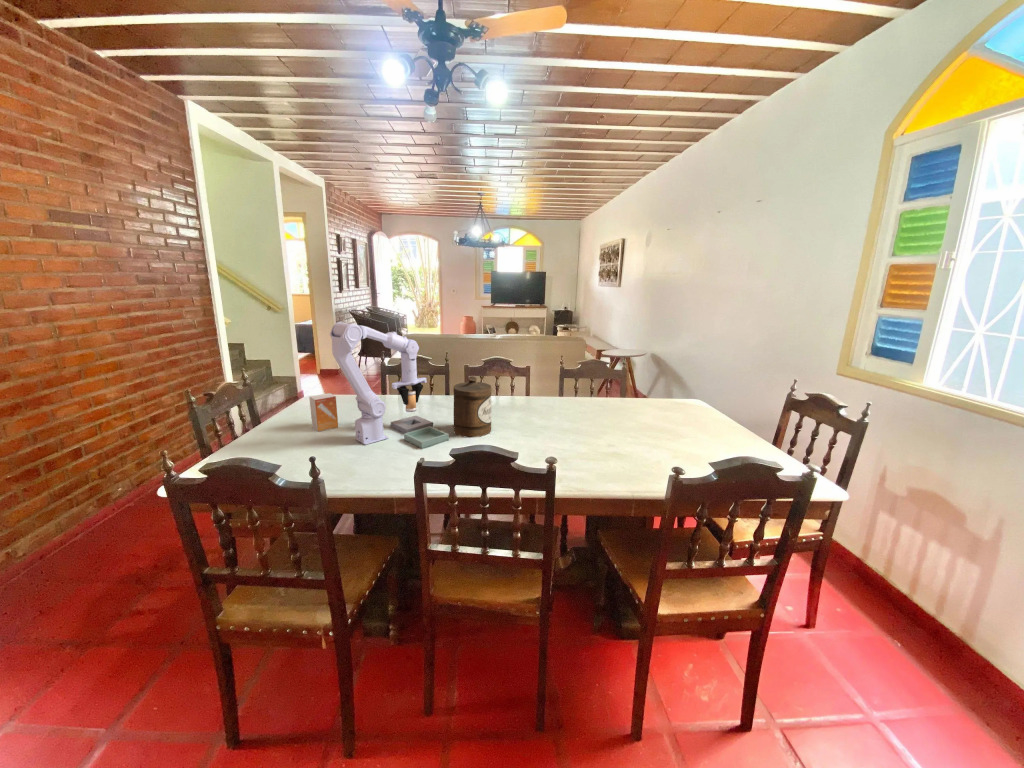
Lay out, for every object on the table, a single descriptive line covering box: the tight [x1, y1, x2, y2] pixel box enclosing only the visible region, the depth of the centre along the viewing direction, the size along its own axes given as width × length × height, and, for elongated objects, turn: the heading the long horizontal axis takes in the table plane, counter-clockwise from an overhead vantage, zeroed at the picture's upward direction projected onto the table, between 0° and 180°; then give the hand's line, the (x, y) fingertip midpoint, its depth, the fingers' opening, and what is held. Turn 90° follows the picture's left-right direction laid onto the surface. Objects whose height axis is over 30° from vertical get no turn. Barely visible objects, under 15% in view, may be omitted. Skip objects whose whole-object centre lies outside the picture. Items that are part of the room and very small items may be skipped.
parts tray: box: [403, 426, 450, 450], centre depth 152 cm, size 12×12×2 cm
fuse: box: [405, 389, 417, 413], centre depth 163 cm, size 4×4×8 cm
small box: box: [308, 392, 339, 433], centre depth 162 cm, size 8×6×13 cm
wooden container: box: [453, 375, 492, 438], centre depth 160 cm, size 15×15×22 cm
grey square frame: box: [390, 415, 434, 434], centre depth 166 cm, size 12×12×2 cm
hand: (410, 403), depth 163 cm, fingers closed on fuse, 4 cm apart
